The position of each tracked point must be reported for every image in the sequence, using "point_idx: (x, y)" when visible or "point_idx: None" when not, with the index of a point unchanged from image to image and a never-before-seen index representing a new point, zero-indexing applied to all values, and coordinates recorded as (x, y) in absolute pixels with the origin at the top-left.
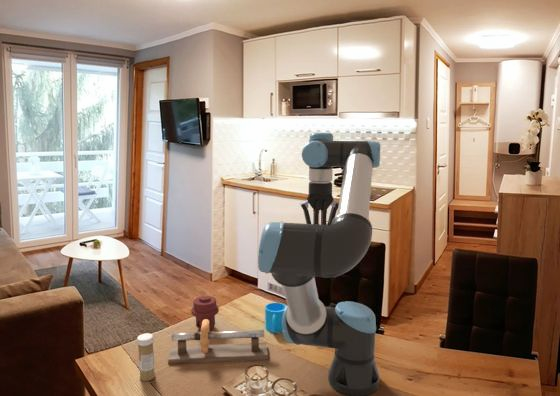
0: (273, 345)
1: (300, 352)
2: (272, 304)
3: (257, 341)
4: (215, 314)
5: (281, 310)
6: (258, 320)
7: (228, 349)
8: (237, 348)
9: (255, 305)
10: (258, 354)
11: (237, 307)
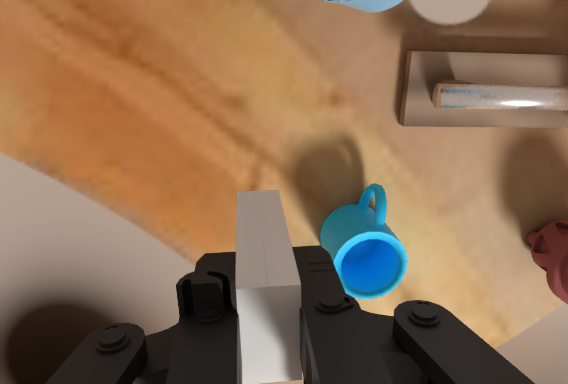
0: (377, 129)
1: (303, 79)
2: (376, 289)
3: (451, 81)
4: (562, 242)
5: (355, 240)
6: None
7: None
8: None
9: None
10: (438, 57)
11: None
